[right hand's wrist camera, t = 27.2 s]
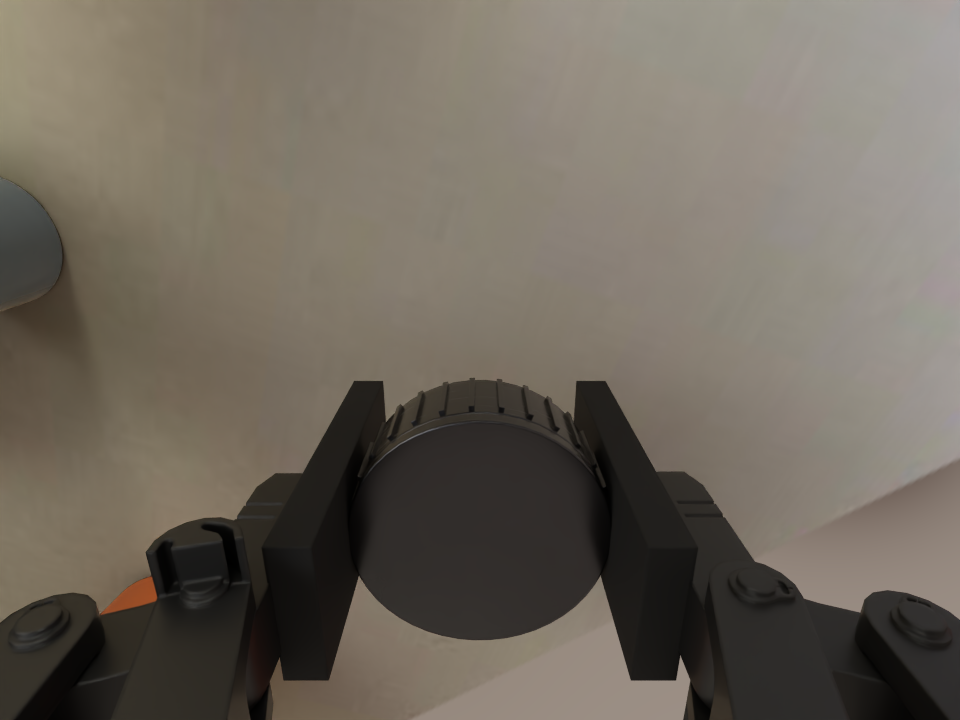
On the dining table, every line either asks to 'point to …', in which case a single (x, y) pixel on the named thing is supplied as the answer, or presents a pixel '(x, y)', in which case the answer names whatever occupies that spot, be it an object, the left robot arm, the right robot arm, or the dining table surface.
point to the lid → (479, 512)
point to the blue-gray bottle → (26, 248)
